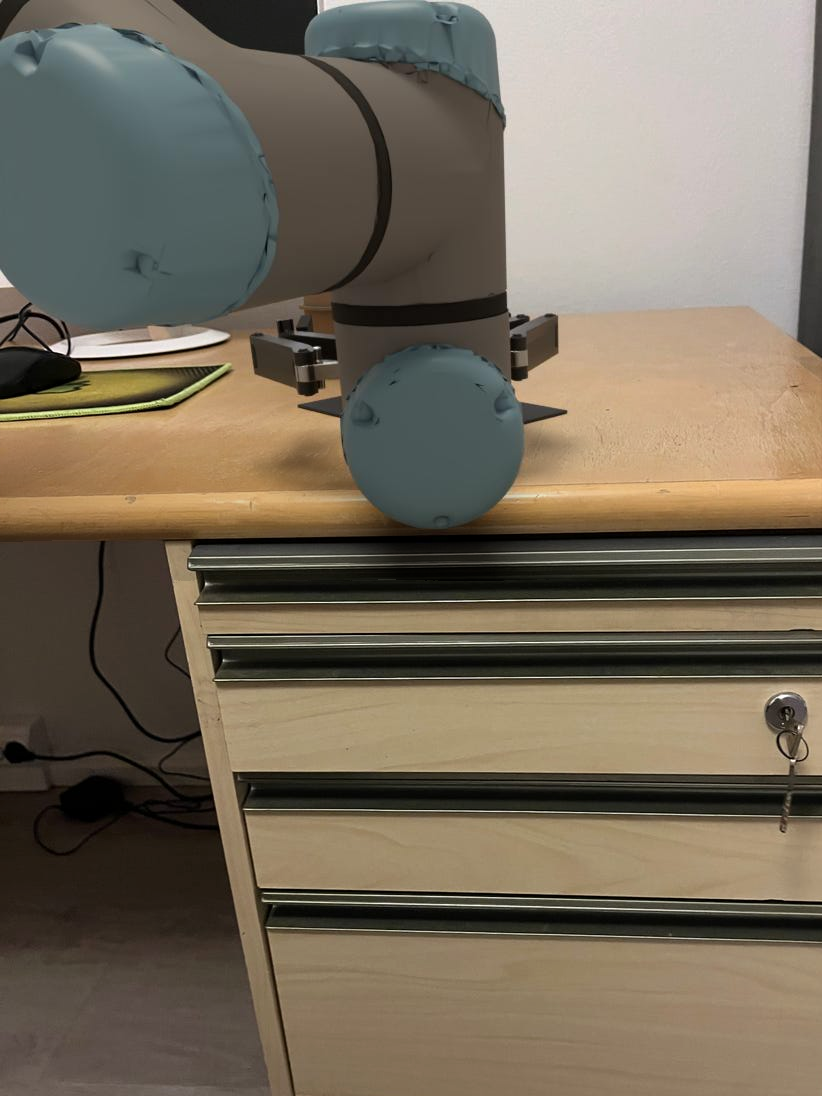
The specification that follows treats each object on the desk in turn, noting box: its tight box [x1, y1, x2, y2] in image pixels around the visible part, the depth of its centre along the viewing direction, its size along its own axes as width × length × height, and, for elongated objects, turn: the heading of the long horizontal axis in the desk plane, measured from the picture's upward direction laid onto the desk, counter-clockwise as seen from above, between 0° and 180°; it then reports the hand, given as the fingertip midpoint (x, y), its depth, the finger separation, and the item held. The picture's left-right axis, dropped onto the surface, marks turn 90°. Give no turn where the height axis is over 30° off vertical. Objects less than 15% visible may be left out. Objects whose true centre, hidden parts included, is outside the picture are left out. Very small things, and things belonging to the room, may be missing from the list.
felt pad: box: [296, 395, 568, 425], centre depth 80 cm, size 20×12×1 cm, turn 41°
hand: (402, 328), depth 72 cm, fingers open, 13 cm apart
